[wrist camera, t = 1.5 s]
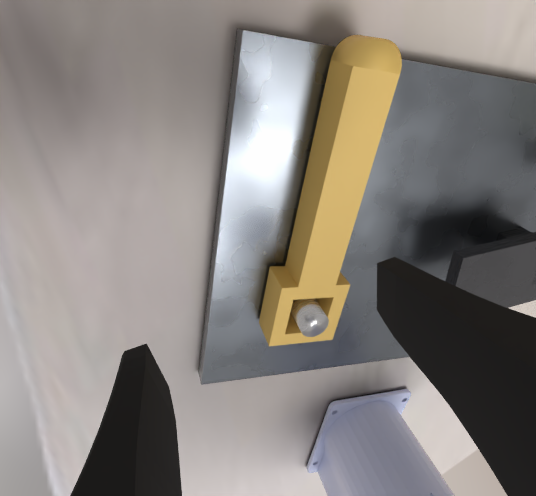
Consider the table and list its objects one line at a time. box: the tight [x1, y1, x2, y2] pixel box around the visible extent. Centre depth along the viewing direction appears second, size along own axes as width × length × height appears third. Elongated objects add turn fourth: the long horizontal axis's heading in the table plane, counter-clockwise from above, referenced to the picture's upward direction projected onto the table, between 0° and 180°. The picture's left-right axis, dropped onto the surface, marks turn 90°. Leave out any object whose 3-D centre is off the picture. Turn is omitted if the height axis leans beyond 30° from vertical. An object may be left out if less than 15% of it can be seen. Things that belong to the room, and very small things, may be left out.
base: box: [199, 29, 536, 385], centre depth 23 cm, size 20×23×4 cm
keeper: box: [445, 227, 536, 308], centre depth 25 cm, size 8×5×4 cm, turn 92°
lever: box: [259, 35, 402, 346], centre depth 20 cm, size 16×4×2 cm, turn 170°
